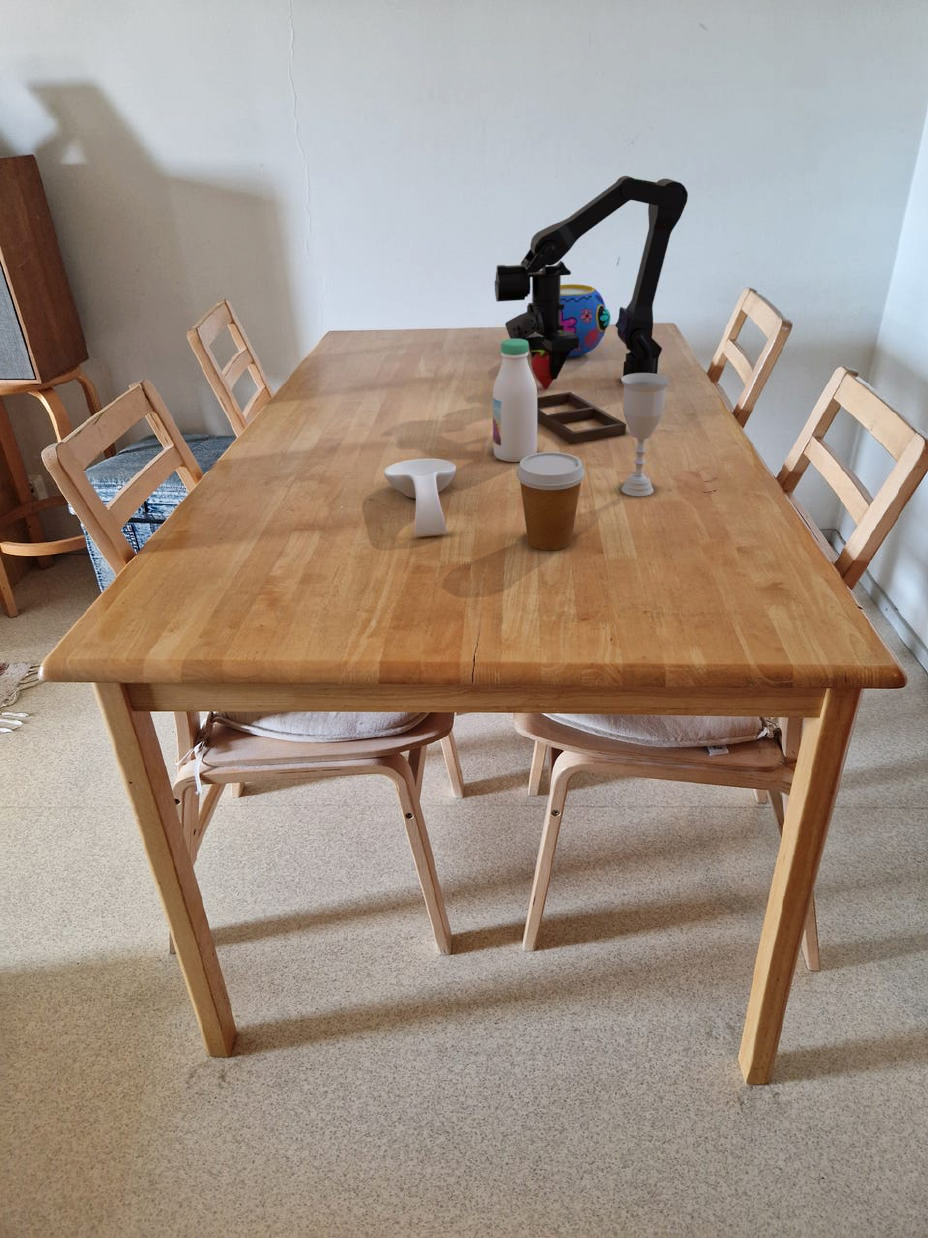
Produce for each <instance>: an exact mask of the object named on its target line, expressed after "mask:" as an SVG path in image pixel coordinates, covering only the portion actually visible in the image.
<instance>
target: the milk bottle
mask: <svg viewBox="0 0 928 1238" xmlns="http://www.w3.org/2000/svg"><path fill="white" fill-rule="evenodd" d="M500 351H501V353H500V355H501V357H502V359H501V360H502V361H501V366H500V369H499V372H498V374H497V376H496V378H495V381H494V385H493V390H492V437H493V438H492V439H493V441H492V442H493V444H492V445H493V454H494V457H495V458H496V459H498V460H500V461H503V462H510V463H520V462H521V460H522V459H523V458H525V457H526V456H529V455H532V454H536V453H538V422H537V409H538V408H537V397H538V391H537V390H538V389H537V383H536V380H535V377H534V375H533V372H532V371H531V368H530V366H529V361H528V355H529V354H530V352H529V344H528V341H526V340H524V339H511V338H508V339H505V340H502V341H501V343H500Z"/></svg>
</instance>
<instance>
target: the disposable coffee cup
mask: <svg viewBox="0 0 928 1238" xmlns="http://www.w3.org/2000/svg"><path fill="white" fill-rule="evenodd" d="M585 475H586V470H585V468H584V467H583V462H582V460H581V459H580V458H579V457H577V456H575V455H573V454H569V453H567V452H560V451H559V452H558V451H543V452H537V453H536V454H532V455H529V456H526V457H525V458H523V459H522V460H521V461H520V462H519V465H518V468H517V469H516V476H517V479H518V481H519V483H520V492H521V500H522V507H523V514H524V522H525V530H526V536H527V543H528V544H529V546H531V547H533V548H535V549H537V550H541V551H542V550H543V551H558V550H562V549H565V548H567V547H569V546H570V545H571V543H572V538H573V532H574V527H575V521H576V514H577V508H578V502H579V497H580V489H581V485H582V481H583V479H584V477H585Z"/></svg>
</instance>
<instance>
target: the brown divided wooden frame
mask: <svg viewBox="0 0 928 1238" xmlns="http://www.w3.org/2000/svg"><path fill="white" fill-rule="evenodd" d="M565 404H569V405H571V406H572V407H574V408H575V409H573V410H568V411H562V412H556V413H550V414H546V413H545V412H544V411H542V410H541V409H542V408H548V407H553V406H559V405H565ZM592 419H594V420H596V421H597V422H599V423H601V424H603V426H597V427H592V428H586V429H581V430H575V431H573V430H572V429H571V428H569V427H567V426H566V425H564V424H570V423H575V422H580V421H581V422H582V421H586V420H592ZM537 423H539V424H540V425H542V426H543V427H545V428H546V429H548V430H549V431H551V432H552V433H553V434H555V435H557V436H558V437H559V438H561V439H563V440H564V441H566V442H567V443H569V444H570V445H576V444H581V443H586V442H590V441H597V440H602V439H607V438H613V437H619V436H623V435H626V433H627V432H626V431H627V423H626V422H624V421H622V420H620V419H618V418H616V417H615V416H613V415H611V414H610V413H608V412H606V411H604V410H603V409H601V408H599V407H598V406H595V405H594V404H592V403H591V402H589V401H587V400H585V399H584V398H581V397H580V396H579V395H576V394H575V393H573V392H571V391H568V392H562V393H556V394H549V395H544V396H543V395H542V396H537Z"/></svg>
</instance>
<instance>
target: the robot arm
mask: <svg viewBox="0 0 928 1238" xmlns="http://www.w3.org/2000/svg"><path fill="white" fill-rule="evenodd" d="M688 198H689V193H688V191H687V188H686V187H685V185H684V184H683V183H681V182H679V181H676V180H673V179H670V178H662V179H658V180H657V181H650V180H646V179H640V178H635V177H632V176H629V175H622V176H620V177H619V178H618V179H617V180H616V181H615V183H613V184H611V185H610V186H608V187H607V188H606V189H605V190H603V191H602V192H601V193H600V194H598V195H597V196H596V197H594V198H593V199H592V200H590V201H589V202H587V203H586V204H585V205H584V206H582V207H581V208H579V209H578V210H577V211H575V212H574V213H573V214H571V215H570V216H569V217H567V218H565V219H564V220H561V221H559V222H556V223H553V224H551V225H549V226H547V227H545V228H543V229H541V230H539V231H537V232H536V233H535V234H534V235H533V236H532V238H531V241H530V249H529V250H528V251H527V252H526V254H525V256H524V257H523V258H522V261H521V262H520V264H513V265H512V264H511V265H505V264H497V265H496V272H495V280H494V294H495V301H496V302H499V303H500V302H513V301H514V302H515V301H525V299H526V298H527V297H529V295H530V294H532V295H531V302H528V304H527V306H526V312H523V313H521V314H519V315H517V316H515V317H513V318H511V319H509V320H507V321H506V322H505V323H504V325H505V328H506V331H507V334H508V337H509V339H524V340H526V341H528V344H529V349H528V352H529V354H530V357H531V359H532V358H533V357H534V355H535V354H537V353H538V352H531V351H535V350H543V351H545V352H546V353H547V354H548V356H549V367H550V375H551V379H552V380H553V381H554V380H557V379H558V377H559V375H560V372H561V371H562V369H563V366H564V365H565V363H566V361H567V359H568V358H569V357H568V356H569V354H570V352H571V351H572V350H574V349H577V348H579V340H580V338H579V337H578V336H577V335H576V334H574V333H572V332H570V331H562V332H558V331H560V330H564V325H563V324H560V310H563V309H564V304H562V303H560V288H561V285H562V283H561V282H562V281H561V280H562V277H561V276H570V275H571V274H572V271H571V270H570V269H569V268H568V267H567V266H566V264H565V263H564V262H563V261H562V259H563V257H564V256H566V255H567V253H569V251H570V250H571V249H572V248H573V246H574V245H575V244H576V243H577V241H578V240H579V239H580V238H581V237H582V236H584V235H585V234H586V233H587V232H589V231H590V230H592V229H593V228H594V227H595V226H597V225H599V224H600V223H602V221H604V220H605V219H606V218H608V217H609V216H611V215H612V214H613V213H614V212H616V211H617V210H618V209H620V208H621V207H623V206H624V205H626V204H627V203H628V202H630V201H635V202H639V203H643V204H647V205H648V206H647V207H648V208H647V216H648V231H647V234H646V238H645V243H644V247H643V251H642V256H641V259H640V263H639V268H638V273H637V276H636V281H635V286H634V289H633V292H632V297H631V300H630V302H629V303H628V305H627V307H626V308H625V307H622V306H620V307H619V309H618V319H617V321H616V323H615V325H614V327H616V328H617V329H616V331H617V332H616V333H617V336H618V338H619V339H620V341H621V342H622V343H623V344H624V345H625V348H626V349H627V351H629V352H627V353H625V360H624V361H623V367H622V369H623V371H622V377H623V376H625V375H628V374H634V373H653V374H658V372H659V371H658V370H659V357H660V356H661V353H662V351H663V347H661V345H659V343H658V342H657V341H656V340H655V339H654V338H653V332H654V331H653V330H654V309H653V306H654V301H655V297H656V293H657V290H658V285H659V283H660V282H659V281H660V277H661V273H662V270H663V265H664V261H665V257H666V253H667V250H668V245H669V241H670V237H671V234H672V232H673V230H674V229H675V227H676V225H677V224H678V222H679V221H680V219H681V217H682V215H683V212H684V210H685V207H686V205H687V203H688ZM541 341H542V342H543V343H544V344H545V345H544V344H543V343H542V342H541ZM619 381H621V378H620V380H619Z"/></svg>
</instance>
